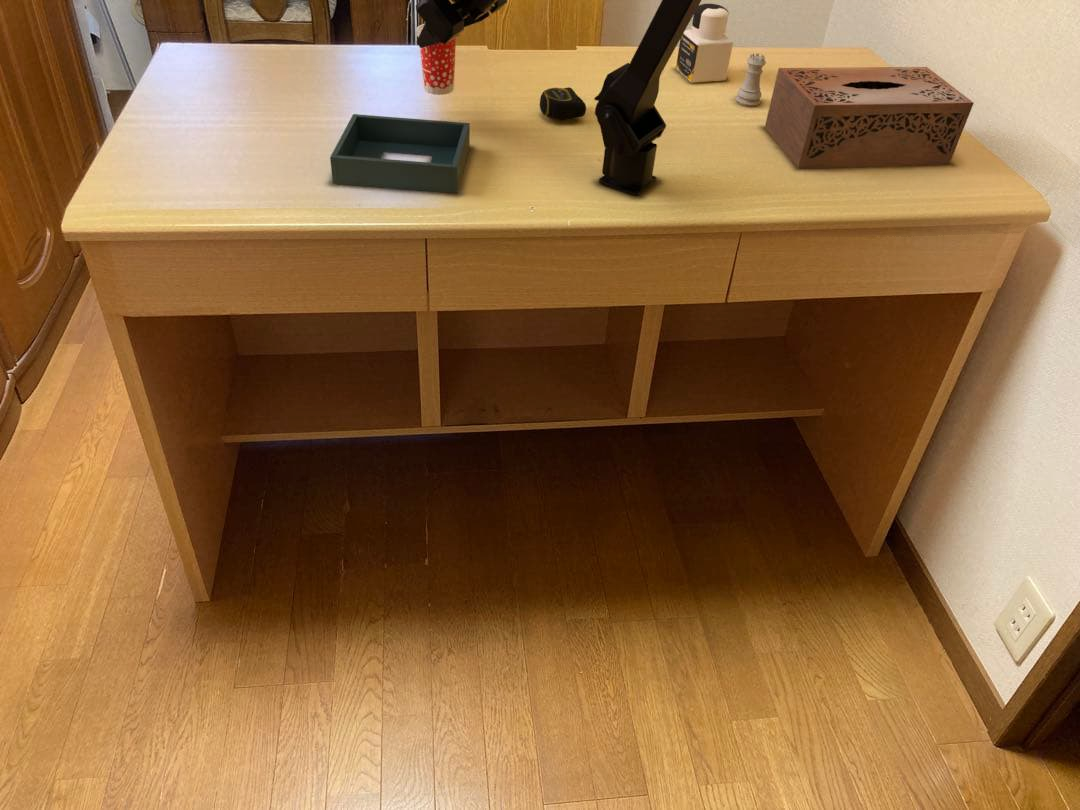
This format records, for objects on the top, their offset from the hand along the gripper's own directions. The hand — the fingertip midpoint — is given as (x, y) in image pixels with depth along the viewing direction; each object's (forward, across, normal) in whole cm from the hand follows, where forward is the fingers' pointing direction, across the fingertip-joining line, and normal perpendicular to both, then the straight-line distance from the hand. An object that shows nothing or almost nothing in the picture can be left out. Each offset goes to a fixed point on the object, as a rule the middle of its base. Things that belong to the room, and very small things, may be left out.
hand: (429, 38), depth 130 cm
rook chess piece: (-21, -35, +40) cm, 58 cm away
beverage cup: (+4, 0, +6) cm, 8 cm away
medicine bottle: (-13, -43, +33) cm, 56 cm away
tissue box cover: (-35, -27, +54) cm, 70 cm away
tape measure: (-3, -14, +22) cm, 26 cm away
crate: (+7, +15, +12) cm, 20 cm away
